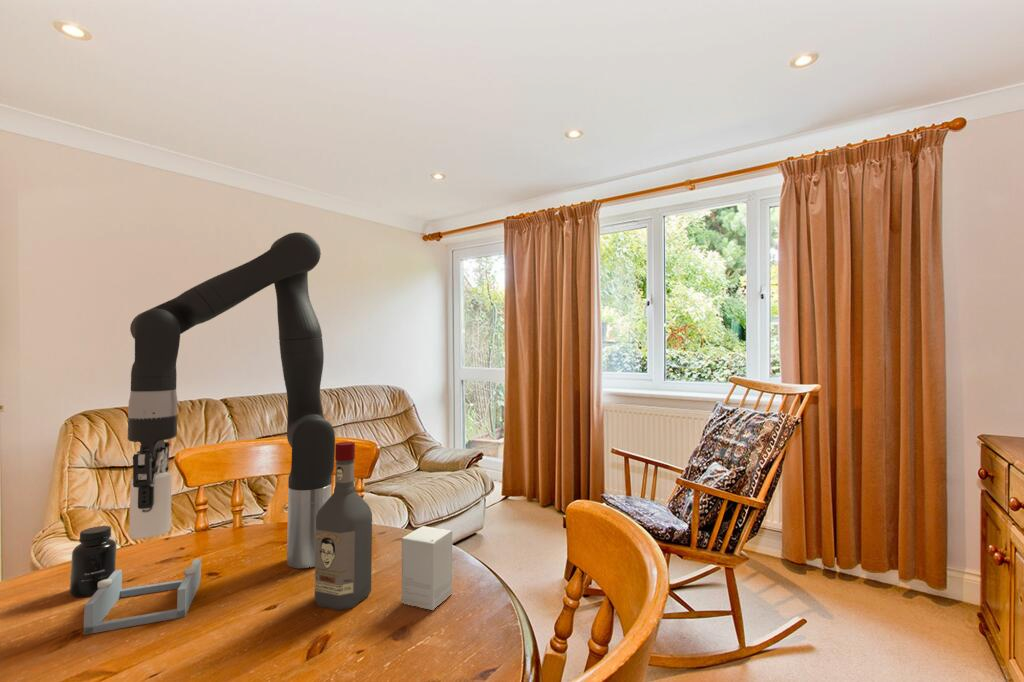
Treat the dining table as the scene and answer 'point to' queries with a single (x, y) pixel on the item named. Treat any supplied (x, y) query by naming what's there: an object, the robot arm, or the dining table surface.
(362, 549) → the liquor
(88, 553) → the supplement bottle
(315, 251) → the robot arm
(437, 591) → the supplement box
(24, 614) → the dining table surface
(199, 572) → the holder
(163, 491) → the candle
